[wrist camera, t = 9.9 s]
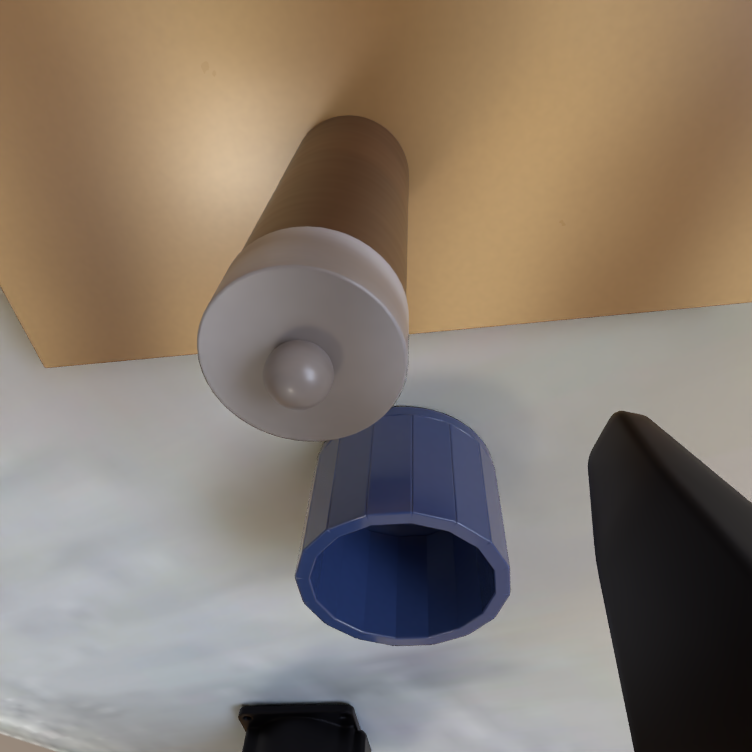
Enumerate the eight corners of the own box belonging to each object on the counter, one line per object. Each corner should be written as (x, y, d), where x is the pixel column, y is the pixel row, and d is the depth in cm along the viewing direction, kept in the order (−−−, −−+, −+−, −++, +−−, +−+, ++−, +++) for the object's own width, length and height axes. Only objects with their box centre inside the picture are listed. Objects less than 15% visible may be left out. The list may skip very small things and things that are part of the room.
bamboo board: (61, 349, 21) (44, 368, 20) (-221, -199, 13) (-272, -211, 12) (743, 282, 18) (762, 302, 18) (908, -456, 11) (958, -495, 10)
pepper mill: (305, 238, 17) (216, 484, 9) (279, 121, 15) (145, 308, 8) (416, 226, 17) (418, 471, 9) (403, 104, 15) (392, 281, 7)
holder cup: (333, 538, 26) (318, 649, 22) (299, 413, 22) (274, 520, 18) (496, 529, 25) (512, 643, 21) (490, 398, 21) (508, 506, 17)
